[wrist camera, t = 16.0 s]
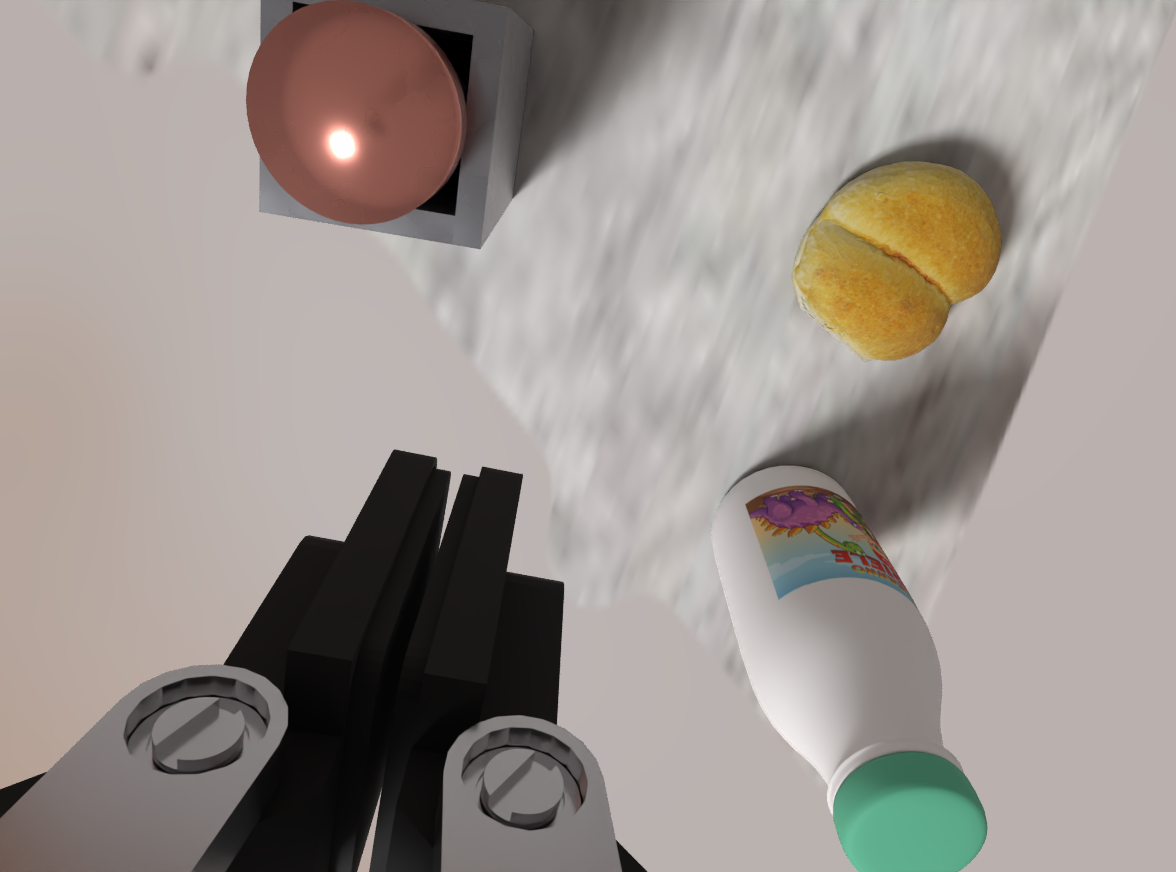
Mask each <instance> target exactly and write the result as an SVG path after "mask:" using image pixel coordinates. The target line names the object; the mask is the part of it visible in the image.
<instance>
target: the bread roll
mask: <svg viewBox="0 0 1176 872" xmlns="http://www.w3.org/2000/svg"><path fill="white" fill-rule="evenodd" d="M1001 243H1002V238H1001V231H1000V225H999V222H998V219H997V216H996V213H995V210H994V208H993V205H992V203H991V201H990V199H989V197H988V196H987V194H986V193H985V191H984V190H983V189H982V188H981V187H980V186H979V184H978V183H977V182H976V181H974V180H973V179H972V178H971V177H970V176H968V175H967V174H965V173H964V172H962V171H960V170H958V169H955V168H953V167H950V166H946V165H941V164H935V163H929V162H921V161H914V162H911V161H905V162H898V163H892V164H889V165H885V166H880V167H877V168H875V169H872V170H870V171H868V172H865V173H864V174H862V175H860V176H859V177H857V178H856V179H854V180H852V181H849V182H848V183H847V184H846V185H845V186H843V187H842V188H841V189H840V190H839V191H837V192H836V193H835V194H834V195H833V196H832V197H831V199H830V200H829V201H828V203H827V204H826V206H825V207H824V209H823V210H822V212H821V214H820V215H819V216H818V217H817V218H816V220H815V221H814V222H813V223H812V224H811V225H810V227H809V228H808V230H807V231H806V233H805V235H804V237H803V239H802V241H801V243H800V246H799V249H798V251H797V254H796V257H795V263H794V268H793V271H792V283H793V286H794V290H795V294H796V297H797V299H798V303H799V307H800V308H801V309H802V310H803V311H804V312H805V313H806V314H807V315H808V316H810V317H811V318H812V319H813V320H814V321H815V322H816V323H817V324H818V325H819V326H820V327H821V328H823V329H824V330H826V331H827V332H828V333H830V335H831V336H832V337H833V338H834V339H836V340H837V341H839V342H841V343H843V344H845V345H846V346H847V347H848V348H849V349H850V350H851V351H853V352H854V353H855V354H857V355H858V356H859V357H860V358H861V359H862V360H863V361H864V362H866V361H869V360H898V359H902V358H905V357H908V356H911V355H913V354H916V353H918V352H920V351H921V350H923V349H924V348H926V347H927V346H929V345H930V344H931V343H932V342H934V341H935V340H936V338H937V337H938V336H939V334H940V333H941V331H942V329H943V327H944V325H945V323H946V321H947V318H948V312H949V309H950V306H951V304H955V303H958V302H960V301H964V300H966V299H968V298H970V297H972V296H974V295H976V294H978V293H979V292H980V291H981V290H983V289H984V288H985V287H986V285H987V284H988V283H989V281H990V280H991V278H992V276H993V275H994V273H995V271H996V268H997V265H998V261H999V256H1000V251H1001Z"/></svg>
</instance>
